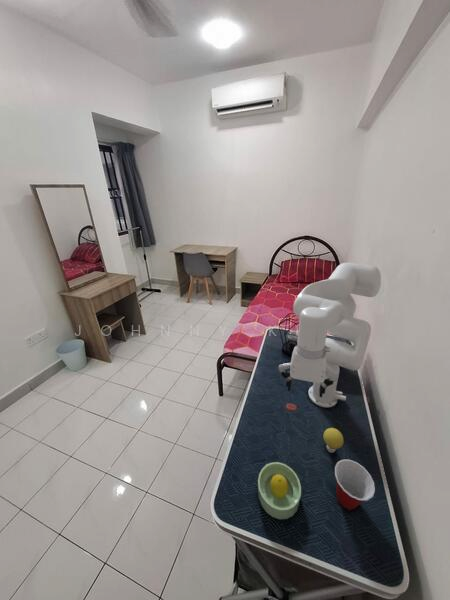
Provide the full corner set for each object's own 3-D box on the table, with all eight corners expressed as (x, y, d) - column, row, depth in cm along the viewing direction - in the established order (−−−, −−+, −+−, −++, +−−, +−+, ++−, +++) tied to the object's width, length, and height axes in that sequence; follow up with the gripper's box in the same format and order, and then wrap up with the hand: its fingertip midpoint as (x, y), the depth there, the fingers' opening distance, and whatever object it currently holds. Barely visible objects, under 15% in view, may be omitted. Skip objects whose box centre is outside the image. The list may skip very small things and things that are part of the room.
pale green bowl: (300, 479, 81) (301, 468, 79) (298, 527, 70) (300, 517, 68) (261, 467, 85) (262, 457, 83) (254, 511, 74) (254, 501, 72)
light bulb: (331, 462, 86) (335, 445, 81) (317, 446, 91) (320, 429, 86) (344, 453, 88) (349, 435, 84) (329, 437, 94) (333, 420, 89)
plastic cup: (371, 524, 70) (381, 503, 65) (332, 516, 72) (338, 495, 67) (360, 483, 79) (368, 461, 74) (326, 476, 82) (331, 455, 76)
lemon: (268, 484, 80) (268, 470, 77) (284, 482, 80) (285, 468, 77) (272, 504, 75) (273, 490, 72) (289, 501, 75) (291, 488, 72)
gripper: (341, 345, 70) (332, 387, 78) (281, 336, 75) (278, 377, 83) (344, 361, 64) (334, 406, 71) (278, 351, 69) (276, 394, 77)
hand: (304, 390), depth 77 cm, fingers open, 9 cm apart
